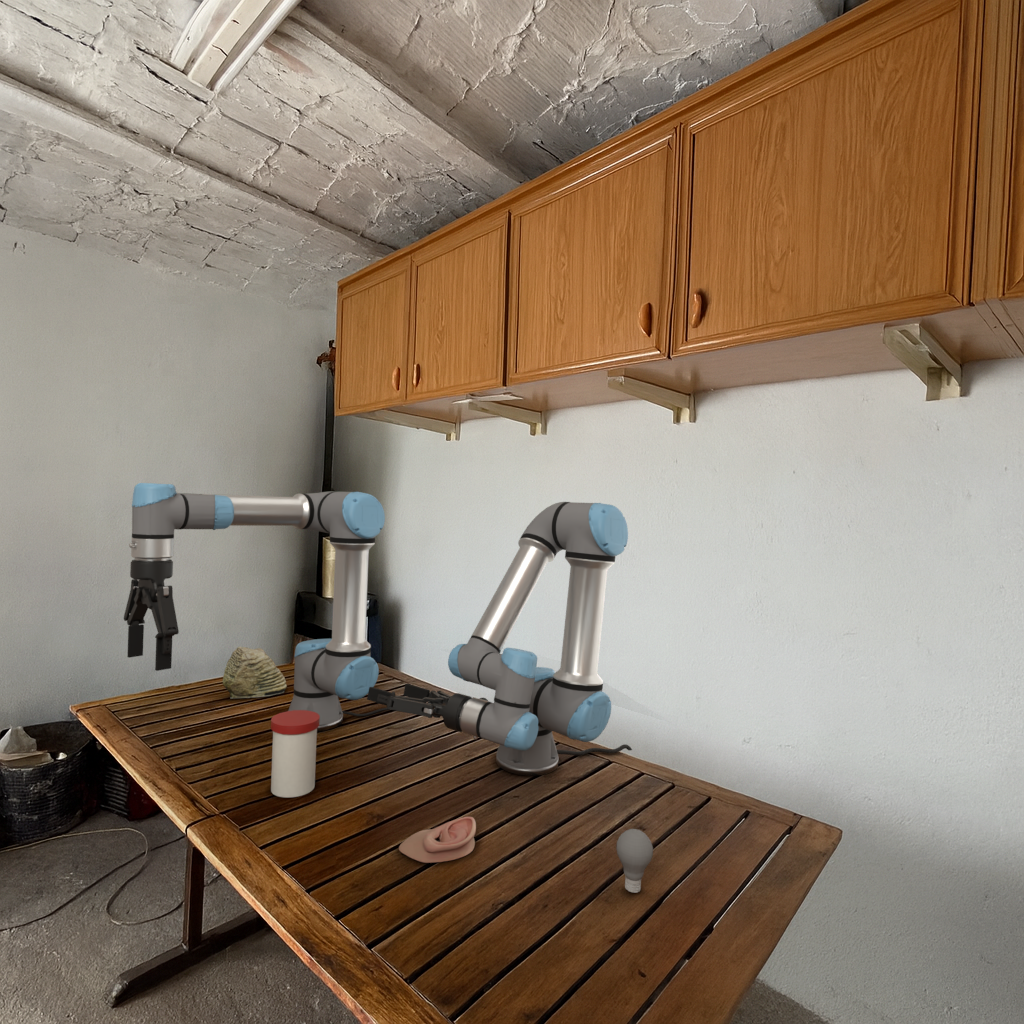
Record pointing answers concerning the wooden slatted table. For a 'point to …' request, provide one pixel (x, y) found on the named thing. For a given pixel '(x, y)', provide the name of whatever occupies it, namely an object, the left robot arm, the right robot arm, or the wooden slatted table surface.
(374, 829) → the wooden slatted table surface
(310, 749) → the jar
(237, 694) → the fossil
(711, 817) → the wooden slatted table surface
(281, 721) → the lid
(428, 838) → the anatomical model
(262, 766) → the wooden slatted table surface
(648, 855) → the light bulb
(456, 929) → the wooden slatted table surface
